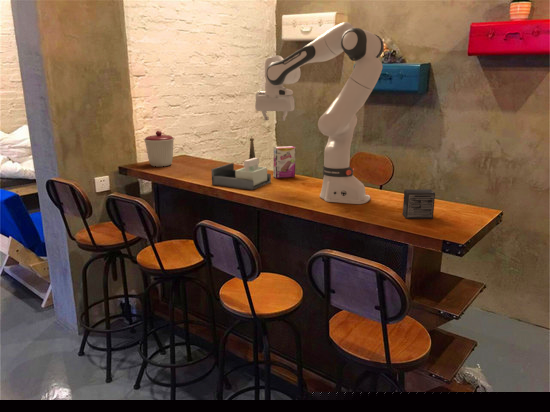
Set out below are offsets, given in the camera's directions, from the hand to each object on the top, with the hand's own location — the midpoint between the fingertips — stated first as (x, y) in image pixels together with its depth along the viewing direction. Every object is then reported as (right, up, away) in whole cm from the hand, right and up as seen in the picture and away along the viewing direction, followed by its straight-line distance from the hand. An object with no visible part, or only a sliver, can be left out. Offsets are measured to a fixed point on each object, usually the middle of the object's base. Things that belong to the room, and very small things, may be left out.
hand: (274, 120), depth 221 cm
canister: (-70, -17, +57) cm, 92 cm away
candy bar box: (+5, -26, +25) cm, 36 cm away
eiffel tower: (-12, -26, +26) cm, 39 cm away
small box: (+56, -46, -44) cm, 85 cm away
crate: (-12, -30, +7) cm, 33 cm away
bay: (-17, -30, +10) cm, 36 cm away
